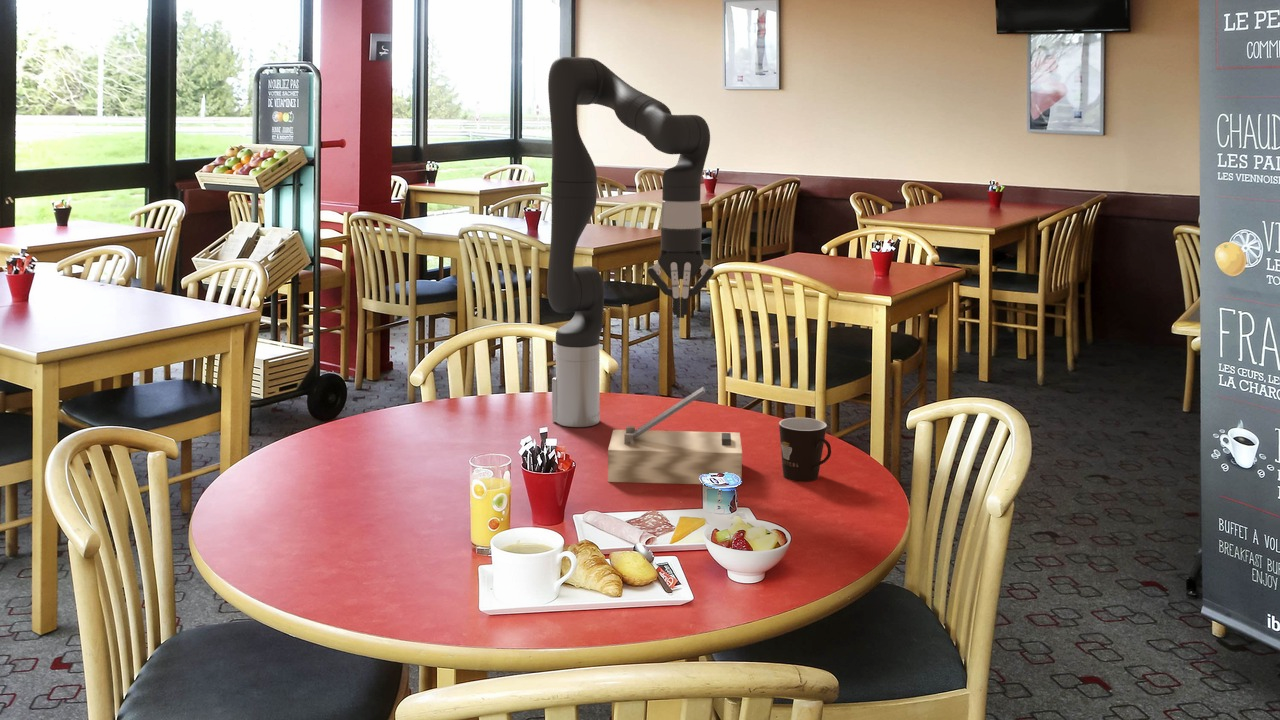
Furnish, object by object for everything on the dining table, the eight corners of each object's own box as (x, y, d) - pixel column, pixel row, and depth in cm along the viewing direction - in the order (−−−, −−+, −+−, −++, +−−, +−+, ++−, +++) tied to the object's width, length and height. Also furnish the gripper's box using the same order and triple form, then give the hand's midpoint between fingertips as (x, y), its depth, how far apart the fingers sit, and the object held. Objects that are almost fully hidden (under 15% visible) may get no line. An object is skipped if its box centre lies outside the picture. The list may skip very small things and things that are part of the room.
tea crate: (607, 481, 208) (608, 440, 207) (613, 459, 221) (613, 420, 219) (741, 485, 207) (742, 443, 205) (738, 462, 220) (739, 423, 218)
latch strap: (632, 440, 211) (630, 437, 211) (633, 435, 214) (631, 432, 214) (704, 393, 209) (703, 390, 209) (704, 389, 212) (703, 386, 212)
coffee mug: (772, 469, 216) (774, 417, 214) (818, 468, 217) (820, 417, 215) (785, 489, 205) (787, 435, 203) (833, 489, 206) (835, 435, 203)
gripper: (644, 226, 210) (644, 320, 214) (717, 227, 209) (715, 321, 213) (646, 223, 217) (646, 313, 221) (716, 223, 217) (715, 314, 220)
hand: (680, 317), depth 217 cm, fingers closed
